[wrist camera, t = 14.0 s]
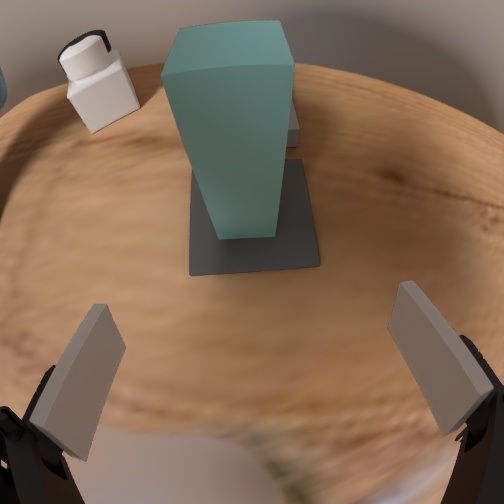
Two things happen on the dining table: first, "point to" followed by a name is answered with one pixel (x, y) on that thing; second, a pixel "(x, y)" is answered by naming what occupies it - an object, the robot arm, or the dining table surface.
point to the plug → (234, 118)
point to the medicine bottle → (97, 81)
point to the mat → (257, 249)
